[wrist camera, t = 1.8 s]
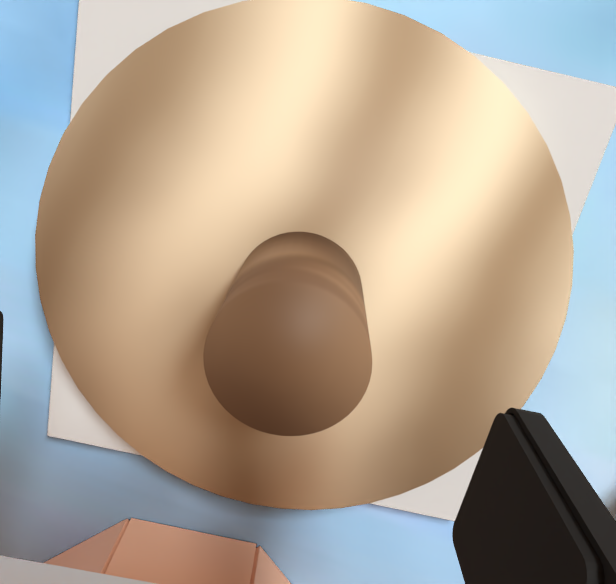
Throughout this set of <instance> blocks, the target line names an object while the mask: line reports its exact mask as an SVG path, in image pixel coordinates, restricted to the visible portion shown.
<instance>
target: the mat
mask: <svg viewBox="0 0 616 584" xmlns="http://www.w3.org/2000/svg"><path fill="white" fill-rule="evenodd" d="M241 1H247V0H79V8H78V22H77V36H76V49H75V63H74V77H73V91H72V104H71V118H70V122H71V121H72V119H73V117H74V116H75V114H76V113H77V111H78V109H79V108H80V106H81V105H82V103H83V102H84V101H85V100H86V98H87V97H88V96H89V95H90V94H91V92H92V91H93V90H94V89H95V88H96V87H97V85H98V84H99V83H100V82H101V81H102V79H103V78H104V77H105V76H106V75H107V74H108V73H109V72H110V71H111V70H113V69H114V68H115V67H116V66H117V65H118V64H119V63H120V62H122V61H123V60H124V59H125V58H126V57H127V56H128V55H130V54H131V53H132V52H133V51H134V50H135V49H137V48H138V47H140V46H142V45H143V44H145V43H146V42H148V41H149V40H151V39H152V38H154V37H156V36H157V35H159V34H160V33H162V32H163V31H165V30H166V29H168V28H170V27H172V26H175V25H177V24H179V23H181V22H183V21H186V20H188V19H190V18H192V17H194V16H197V15H199V14H201V13H203V12H206V11H210V10H213V9H217V8H220V7H224V6H227V5H231V4H234V3H238V2H241ZM469 53H471V52H469ZM471 54H472V55H474V56H475V57H476V58H477V59H478V60H479V61H481V62H482V63H483V64H484V65H485V66H486V67H487V68H488V69H489V70H490V71H491V72H492V73H494V74H495V75H496V76H497V77H498V78H499V79H500V80H501V81H502V82H503V83H504V84H505V85H506V86H507V88H508V89H509V90H510V91H511V93H512V94H513V95H514V96H515V97H516V99H517V100H518V101H519V102H520V104H521V105H522V106H523V107H524V109H525V110H526V111H527V112H528V114H529V115H530V117H531V119H532V121H533V122H534V124H535V126H536V127H537V129H538V131H539V132H540V134H541V136H542V138H543V139H544V141H545V143H546V144H547V146H548V148H549V151H550V153H551V156H552V158H553V161H554V163H555V166H556V168H557V171H558V173H559V175H560V178H561V180H562V184H563V189H564V193H565V197H566V201H567V205H568V209H569V213H570V219H571V230H572V235H573V232H574V229H575V227H576V224H577V222H578V219H579V217H580V214H581V211H582V209H583V206H584V204H585V201H586V199H587V196H588V193H589V191H590V188H591V186H592V183H593V181H594V178H595V176H596V173H597V170H598V168H599V165H600V163H601V160H602V158H603V155H604V152H605V150H606V147H607V145H608V142H609V140H610V137H611V134H612V132H613V129H614V127H615V124H616V87H614V86H610V85H606V84H601V83H597V82H593V81H589V80H585V79H580V78H576V77H572V76H568V75H564V74H559V73H555V72H551V71H547V70H542V69H538V68H534V67H530V66H526V65H521V64H517V63H513V62H509V61H505V60H500V59H496V58H492V57H488V56H484V55H479V54H475V53H471ZM47 436H52V437H56V438H61V439H66V440H71V441H75V442H80V443H85V444H90V445H94V446H99V447H104V448H109V449H113V450H118V451H123V452H128V453H133V454H137V455H141V454H140V453H139V452H138V451H136V450H135V449H134V448H133V447H132V446H130V445H129V444H128V443H127V442H125V441H124V440H123V439H122V438H121V437H119V436H118V435H117V434H116V433H115V432H114V431H113V430H112V428H111V427H110V426H109V425H108V424H107V423H106V422H105V421H104V420H103V419H102V418H101V417H100V416H99V415H98V414H97V413H96V411H95V410H94V409H93V407H92V406H91V405H90V404H89V402H88V401H87V400H86V398H85V397H84V396H83V394H82V393H81V392H80V390H79V389H78V388H77V386H76V384H75V382H74V381H73V379H72V377H71V375H70V374H69V372H68V370H67V369H66V367H65V365H64V363H63V362H62V360H61V357H60V355H59V353H58V350H57V348H56V346H55V343H54V352H53V366H52V380H51V393H50V407H49V421H48V435H47ZM482 449H483V448H482ZM482 449H481V450H480V451H478V452H477V453H476V454H474V455H473V456H471V457H470V458H469V459H467V460H466V461H464V462H463V463H462V464H460V465H459V466H457V467H456V468H455V469H453V470H451V471H449V472H447V473H445V474H444V475H442V476H440V477H438V478H436V479H435V480H433V481H431V482H429V483H427V484H425V485H422V486H420V487H417V488H415V489H412V490H410V491H408V492H405V493H403V494H400V495H397V496H393V497H390V498H386V499H383V500H379V501H376V502H372V503H370V504H375V505H380V506H385V507H390V508H394V509H399V510H404V511H409V512H413V513H418V514H423V515H428V516H432V517H437V518H442V519H447V520H451V521H455V519H456V517H457V514H458V511H459V509H460V506H461V504H462V501H463V498H464V496H465V493H466V491H467V488H468V486H469V483H470V480H471V478H472V475H473V473H474V470H475V467H476V465H477V462H478V460H479V457H480V454H481V452H482ZM142 456H143V455H142Z"/></svg>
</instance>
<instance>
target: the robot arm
mask: <svg viewBox="0 0 616 584" xmlns="http://www.w3.org/2000/svg"><path fill="white" fill-rule="evenodd" d="M2 342H3V314H2V312H1V311H0V397H1V370H2ZM453 543H454V547H455V550H456V554H457V557H458V560H459V564H460V567H461V571H462V574H463V578H464V581H465V584H616V521H615V520H614V518H613V517H612V515H611V514H610V513H609V511H608V510H607V508H606V507H605V505H604V504H603V502H602V501H601V499H600V498H599V496H598V495H597V493H596V492H595V490H594V489H593V488H592V486H591V485H590V483H589V482H588V480H587V479H586V477H585V476H584V474H583V473H582V471H581V470H580V468H579V467H578V465H577V464H576V463H575V461H574V460H573V458H572V457H571V455H570V454H569V452H568V451H567V449H566V448H565V446H564V445H563V443H562V442H561V440H560V439H559V438H558V436H557V435H556V433H555V432H554V430H553V429H552V427H551V426H550V424H549V423H548V421H547V420H546V418H545V417H544V416H543V415H542V414H541V413H536V412H531V411H526V410H521V409H517V408H512V407H511V408H509V409H508V410H507V411H506V412H505V414H504V413H499V414H497V415H496V417H495V419H494V421H493V423H492V426H491V429H490V431H489V434H488V436H487V439H486V442H485V444H484V447H483V449H482V452H481V454H480V457H479V460H478V462H477V465H476V467H475V470H474V473H473V475H472V478H471V480H470V483H469V486H468V488H467V491H466V493H465V496H464V498H463V501H462V504H461V506H460V509H459V511H458V514H457V517H456V519H455V522H454V526H453ZM0 584H157V583H151V582H145V581H140V580H134V579H129V578H123V577H118V576H112V575H107V574H101V573H96V572H90V571H84V570H79V569H73V568H68V567H62V566H57V565H51V564H46V563H40V562H35V561H29V560H24V559H18V558H12V557H6V556H1V555H0Z"/></svg>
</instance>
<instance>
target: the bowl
mask: <svg viewBox="0 0 616 584" xmlns="http://www.w3.org/2000/svg"><path fill="white" fill-rule="evenodd" d="M256 545H257V544H255V543H250V542H246V541H241V540H236V539H231V538H226V537H221V536H216V535H212V534H207V533H202V532H197V531H192V530H187V529H183V528H178V527H173V526H168V525H163V524H158V523H154V522H149V521H144V520H139V519H134V518H131V519H130V521H129V520H128V519H125V520H123V521H121V522H119V523H117V524H116V525H114V526H112V527H110V528H108V529H106V530H104V531H102V532H100V533H99V534H97V535H95V536H93V537H91V538H89V539H87V540H85V541H84V542H82V543H80V544H78V545H76V546H74V547H72V548H70V549H68V550H67V551H65V552H63V553H61V554H59V555H57V556H55V557H53V558H52V559H50V560H48V561H46V562H44V563H46V564H51V565H57V566H62V567H68V568H73V569H79V570H84V571H90V572H96V573H101V574H107V575H112V576H118V577H123V578H129V579H134V580H140V581H145V582H151V583H157V584H291V583H290V582H289V581H288V579H287V578H286V577H285V576H284V574H283V573H282V572H281V571H280V570H279V568H278V567H277V566H276V565H275V563H274V562H273V561H272V560H271V558H270V557H269V556H268V555H267V554H266V552H265V551H264V550H263V549H262V547H261V546H259V547H257V548H256Z"/></svg>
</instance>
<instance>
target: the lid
mask: <svg viewBox="0 0 616 584" xmlns="http://www.w3.org/2000/svg"><path fill="white" fill-rule="evenodd" d="M35 243H36V273H37V279H38V286H39V293H40V300H41V304H42V307H43V311H44V314H45V318H46V321H47V325H48V328H49V332H50V334H51V336H52V339H53V341H54V343H55V346H56V348H57V350H58V353H59V355H60V357H61V360H62V362H63V363H64V365H65V367H66V369H67V370H68V372H69V374H70V375H71V377H72V379H73V381H74V382H75V384H76V386H77V388H78V389H79V390H80V392H81V393H82V394H83V396H84V397H85V398H86V400H87V401H88V402H89V404H90V405H91V406H92V407H93V409H94V410H95V411H96V413H97V414H98V415H99V416H100V417H101V418H102V419H103V420H104V421H105V422H106V423H107V424H108V425H109V426H110V427H111V428H112V430H113V431H114V432H115V433H116V434H117V435H118V436H119V437H121V438H122V439H123V440H124V441H125V442H127V443H128V444H129V445H130V446H132V447H133V448H134V449H135V450H136V451H138V452H139V453H140V454H141V455H143V456H144V457H146V458H147V459H149V460H150V461H152V462H153V463H155V464H156V465H158V466H159V467H161V468H162V469H164V470H165V471H167V472H169V473H171V474H173V475H175V476H177V477H178V478H180V479H182V480H184V481H186V482H188V483H190V484H192V485H194V486H197V487H199V488H202V489H205V490H207V491H210V492H212V493H215V494H218V495H220V496H223V497H227V498H231V499H235V500H238V501H242V502H246V503H250V504H255V505H262V506H268V507H275V508H282V509H304V510H317V509H333V508H344V507H350V506H356V505H362V504H367V503H372V502H376V501H379V500H383V499H386V498H390V497H393V496H397V495H400V494H403V493H405V492H408V491H410V490H412V489H415V488H417V487H420V486H422V485H425V484H427V483H429V482H431V481H433V480H435V479H436V478H438V477H440V476H442V475H444V474H445V473H447V472H449V471H451V470H453V469H455V468H456V467H457V466H459V465H460V464H462V463H463V462H464V461H466V460H467V459H469V458H470V457H471V456H473V455H474V454H476V453H477V452H478V451H480V450H481V449H482V448H483V447H484V444H485V442H486V439H487V436H488V434H489V431H490V429H491V426H492V423H493V421H494V419H495V417H496V415H497V414H499V413H504V414H505V412H506V411H507V410H508V409H509V408H511V407H512V408H517V409H521V408H522V407H523V406H524V404H525V403H526V401H527V400H528V398H529V397H530V395H531V394H532V392H533V390H534V389H535V387H536V386H537V384H538V383H539V381H540V380H541V378H542V376H543V374H544V372H545V370H546V368H547V366H548V364H549V362H550V360H551V358H552V356H553V354H554V352H555V349H556V346H557V343H558V340H559V337H560V334H561V331H562V328H563V325H564V322H565V319H566V315H567V309H568V304H569V299H570V293H571V288H572V274H573V252H574V250H573V240H572V230H571V219H570V213H569V209H568V205H567V201H566V197H565V193H564V189H563V184H562V180H561V178H560V175H559V173H558V171H557V168H556V166H555V163H554V161H553V158H552V156H551V153H550V151H549V148H548V146H547V144H546V143H545V141H544V139H543V138H542V136H541V134H540V132H539V131H538V129H537V127H536V126H535V124H534V122H533V121H532V119H531V117H530V115H529V114H528V112H527V111H526V110H525V109H524V107H523V106H522V105H521V104H520V102H519V101H518V100H517V99H516V97H515V96H514V95H513V94H512V93H511V91H510V90H509V89H508V88H507V86H506V85H505V84H504V83H503V82H502V81H501V80H500V79H499V78H498V77H497V76H496V75H495V74H494V73H492V72H491V71H490V70H489V69H488V68H487V67H486V66H485V65H484V64H483V63H482V62H481V61H479V60H478V59H477V58H476V57H475V56H474V55H472V54H471V53H469V52H468V51H466V50H465V49H464V48H462V47H461V46H459V45H458V44H456V43H455V42H453V41H452V40H450V39H449V38H447V37H446V36H445V35H443V34H442V33H440V32H438V31H436V30H433V29H431V28H429V27H427V26H425V25H423V24H421V23H419V22H417V21H415V20H413V19H411V18H409V17H407V16H405V15H402V14H398V13H395V12H392V11H389V10H386V9H383V8H380V7H376V6H373V5H370V4H367V3H362V2H356V1H350V0H247V1H241V2H238V3H234V4H231V5H227V6H224V7H220V8H217V9H213V10H210V11H206V12H203V13H201V14H199V15H197V16H194V17H192V18H190V19H188V20H186V21H183V22H181V23H179V24H177V25H175V26H172V27H170V28H168V29H166V30H165V31H163V32H162V33H160V34H159V35H157V36H156V37H154V38H152V39H151V40H149V41H148V42H146V43H145V44H143V45H142V46H140V47H138V48H137V49H135V50H134V51H133V52H132V53H131V54H130V55H128V56H127V57H126V58H125V59H124V60H123V61H122V62H120V63H119V64H118V65H117V66H116V67H115V68H114V69H113V70H111V71H110V72H109V73H108V74H107V75H106V76H105V77H104V78H103V79H102V81H101V82H100V83H99V84H98V85H97V87H96V88H95V89H94V90H93V91H92V92H91V94H90V95H89V96H88V97H87V98H86V100H85V101H84V102H83V103H82V105H81V106H80V108H79V109H78V111H77V113H76V114H75V116H74V117H73V119H72V121H71V122H70V124H69V126H68V127H67V129H66V130H65V132H64V134H63V136H62V138H61V140H60V142H59V145H58V147H57V149H56V152H55V154H54V156H53V159H52V161H51V163H50V165H49V168H48V172H47V176H46V179H45V183H44V187H43V190H42V194H41V198H40V202H39V210H38V218H37V226H36V234H35Z"/></svg>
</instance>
